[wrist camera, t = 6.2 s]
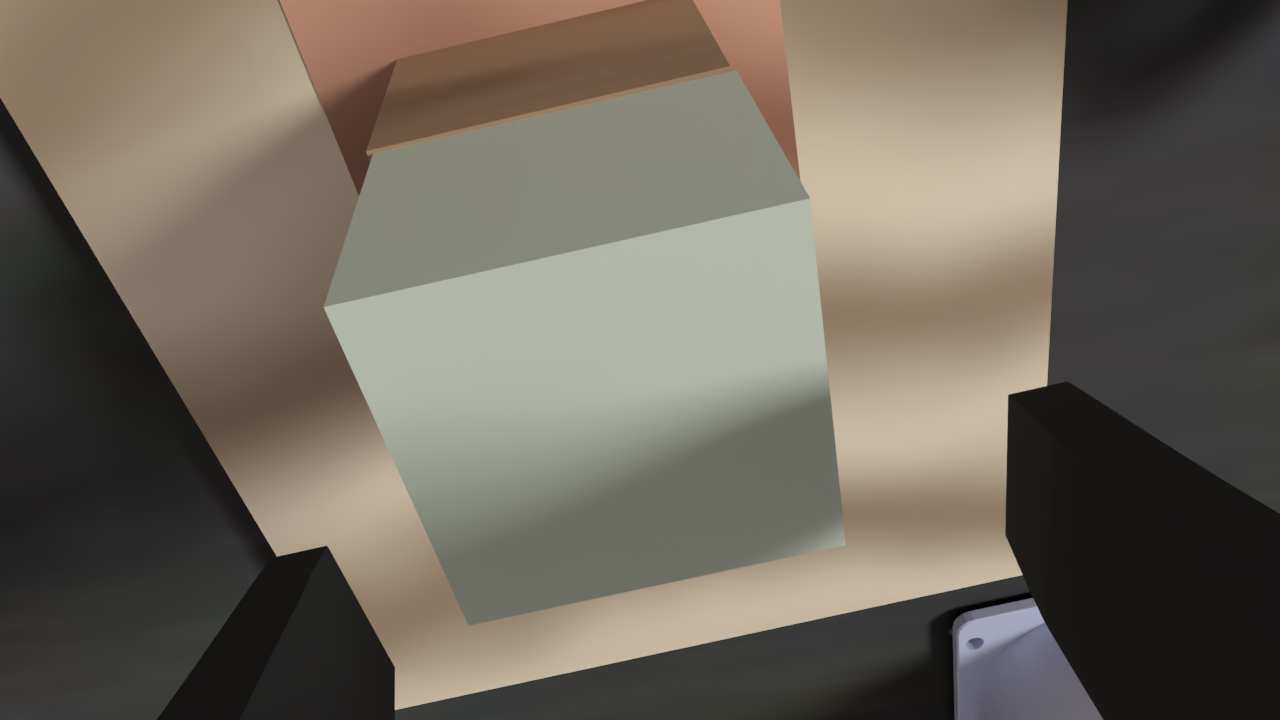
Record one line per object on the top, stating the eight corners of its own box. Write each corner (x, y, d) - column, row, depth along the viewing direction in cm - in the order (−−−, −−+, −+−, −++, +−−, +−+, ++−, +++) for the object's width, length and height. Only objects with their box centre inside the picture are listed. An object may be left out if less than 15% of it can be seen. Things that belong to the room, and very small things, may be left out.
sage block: (778, 368, 16) (845, 544, 12) (479, 433, 16) (468, 625, 13) (736, 70, 13) (810, 199, 10) (373, 153, 13) (323, 306, 10)
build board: (1020, 544, 26) (1037, 573, 25) (376, 683, 27) (371, 716, 26) (1055, -358, 15) (1087, -362, 14) (-69, -83, 15) (-103, -70, 15)
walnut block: (730, 249, 19) (774, 365, 16) (483, 306, 19) (475, 432, 16) (687, -10, 16) (729, 66, 13) (397, 59, 16) (366, 150, 13)
